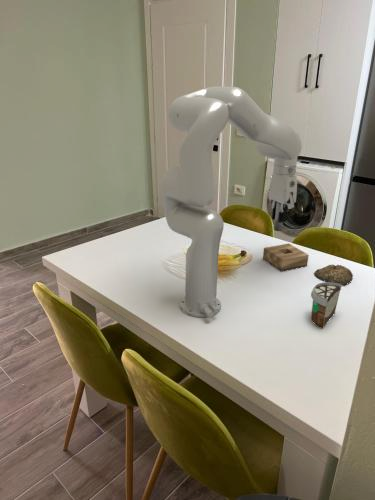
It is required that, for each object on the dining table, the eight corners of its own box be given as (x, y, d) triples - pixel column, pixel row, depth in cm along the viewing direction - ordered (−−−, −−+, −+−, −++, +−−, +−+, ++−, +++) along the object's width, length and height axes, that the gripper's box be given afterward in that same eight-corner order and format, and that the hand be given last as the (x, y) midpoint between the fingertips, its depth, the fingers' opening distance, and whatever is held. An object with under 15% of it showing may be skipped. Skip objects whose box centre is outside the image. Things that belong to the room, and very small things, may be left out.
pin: (283, 230, 136) (287, 201, 131) (277, 231, 135) (280, 202, 130) (278, 227, 138) (281, 199, 134) (272, 228, 137) (275, 200, 133)
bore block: (306, 266, 143) (308, 254, 141) (281, 271, 138) (282, 259, 136) (287, 254, 153) (288, 243, 151) (262, 259, 148) (263, 247, 146)
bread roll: (340, 289, 127) (343, 276, 125) (309, 276, 136) (311, 264, 134) (359, 278, 135) (362, 266, 133) (328, 266, 144) (330, 255, 142)
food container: (316, 305, 117) (321, 277, 113) (336, 312, 114) (342, 283, 110) (300, 322, 108) (305, 292, 104) (320, 330, 105) (326, 300, 101)
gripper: (309, 173, 122) (302, 226, 130) (278, 164, 136) (273, 212, 143) (290, 175, 119) (284, 229, 127) (261, 166, 133) (257, 215, 140)
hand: (278, 220), depth 135 cm, fingers closed on pin, 3 cm apart
